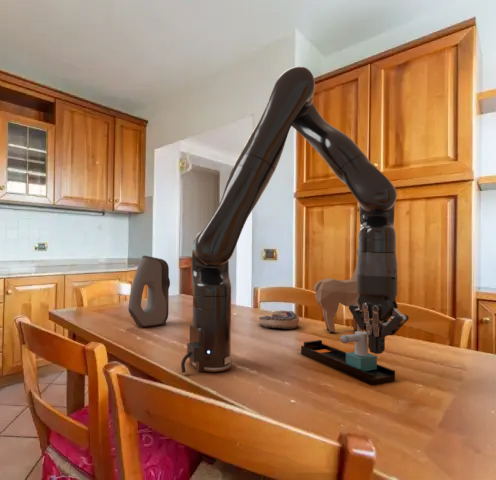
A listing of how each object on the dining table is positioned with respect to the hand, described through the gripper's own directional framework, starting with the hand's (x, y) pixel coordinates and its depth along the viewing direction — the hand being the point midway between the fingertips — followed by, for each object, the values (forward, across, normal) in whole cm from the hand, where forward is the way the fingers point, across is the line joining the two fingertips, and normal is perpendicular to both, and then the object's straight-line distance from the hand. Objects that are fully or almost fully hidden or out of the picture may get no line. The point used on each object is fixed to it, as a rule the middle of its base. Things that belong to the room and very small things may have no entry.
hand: (376, 352), depth 72 cm
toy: (+6, -32, +26) cm, 42 cm away
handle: (+5, -4, -2) cm, 6 cm away
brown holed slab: (+6, -62, -33) cm, 70 cm away
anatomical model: (+6, -47, +11) cm, 49 cm away
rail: (+6, -9, 0) cm, 11 cm away
